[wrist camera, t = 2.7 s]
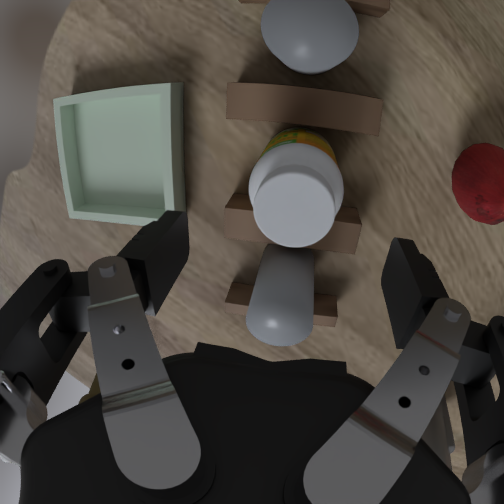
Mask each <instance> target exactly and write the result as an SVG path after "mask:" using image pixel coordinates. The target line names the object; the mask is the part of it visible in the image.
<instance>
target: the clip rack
mask: <svg viewBox="0 0 504 504" xmlns="http://www.w3.org/2000/svg"><path fill="white" fill-rule="evenodd" d="M345 1H346V2H347V3H348V4H349V6H350V7H351V8H352V10H353V11H354V12H355V13H361V14H366V15H371V16H375V17H381V16H382V15H384V14H385V13H386V12H387V11H388V10H390V0H345ZM239 2H240V3H269V2H270V0H239ZM382 107H383V100H382V99H378V98H374V97H368V96H363V95H358V94H352V93H346V92H340V91H333V90H326V89H318V88H310V87H301V86H291V85H279V84H264V83H242V82H231V83H227V109H226V119H240V120H256V121H269V122H281V123H291V124H300V125H309V126H317V127H324V128H331V129H338V130H345V131H351V132H357V133H363V134H368V135H374V136H379V130H380V123H381V115H382ZM361 227H362V223H361V220H360V217H359V214H358V211H357V208H350V207H343V206H341V207H340V209H339V211H338V213H337V214H336V216H335V219H334V222H333V225H332V227H331V229H330V230H329V232H328V233H327V234H326V235H325V236H324V237H323V238H322V239H321V240H319V241H318V242H316V243H314V244H311V245H309V246H305V247H302V248H310V249H317V250H325V251H333V252H340V253H348V254H355V252H356V248H357V244H358V240H359V236H360V231H361ZM224 238H230V239H238V240H246V241H254V242H262V243H270V244H277V243H275V242H273V241H272V240H270V239H269V238H268V237H266V236H265V235H264V234H263V232H262V231H261V230H260V229H259V227H258V225H257V223H256V221H255V218H254V213H253V206H252V204H251V201H250V196H249V195H245V194H235V193H234V194H233V195H232V197H231V198H230V200H229V202H228V203H227V205H226V206H225V219H224ZM278 245H280V244H278ZM253 289H254V285H247V284H240V283H233V282H232V284H231V287H230V289H229V292H228V295H227V298H226V300H225V312H226V313H232V314H238V315H245V316H246V315H247V311H248V307H249V304H250V300H251V296H252V293H253ZM337 318H338V315H337V301H336V296H332V295H324V294H316V293H314V310H313V325H320V326H329V327H335V324H336V321H337Z"/></svg>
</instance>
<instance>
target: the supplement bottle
mask: <svg viewBox="0 0 504 504" xmlns="http://www.w3.org/2000/svg"><path fill="white" fill-rule="evenodd" d="M343 195H344V186H343V179H342V175H341V172H340V169H339V167H338V164H337V161H336V158H335V155H334V152H333V150H332V148H331V146H330V144H329V143H328V142H327V140H326V139H325V138H324V137H323V136H321V135H320V134H319V133H317V132H315V131H313V130H310V129H307V128H290V129H287V130H284V131H282V132H280V133H279V134H277V135H276V136H275V137H274V138H273V139H272V140H271V141H270V142H269V143H268V145H267V147H266V148H265V150H264V151H263V153H262V155H261V156H260V158H259V160H258V161H257V163H256V165H255V166H254V168H253V171H252V173H251V176H250V180H249V196H250V201H251V204H252V206H253V213H254V218H255V221H256V223H257V225H258V227H259V229H260V230H261V231H262V232H263V234H264V235H265V236H266V237H268V238H269V239H270V240H272V241H273V242H275V243H277V244H280V245H283V246H287V247H305V246H309V245H311V244H314V243H316V242H318V241H319V240H321V239H322V238H323V237H324V236H325V235H326V234H327V233H328V232H329V230H330V229H331V227H332V225H333V222H334V219H335V216H336V214H337V213H338V211H339V209H340V207H341V204H342V200H343Z"/></svg>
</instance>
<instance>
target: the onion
mask: <svg viewBox="0 0 504 504" xmlns="http://www.w3.org/2000/svg"><path fill="white" fill-rule="evenodd" d="M452 190H453V193H454V195H455V198H456V200H457V203H458V204H459V206H460V208H461V209H462V210H463V211H464V212H465V213H466V214H467V215H468V216H469V217H470V218H472V219H473V220H475V221H478V222H482V223H486V224H490V225H495V224H498V223H500V222H502V221H504V149H503V148H500V147H498V146H495V145H492V144H489V143H480V144H473V145H472V146H470V147H469V148H467V149H465V150H464V151H462V153H461V155H460V156H459V157H458V159H457V160H456V161H455V164H454V168H453V171H452Z"/></svg>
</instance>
